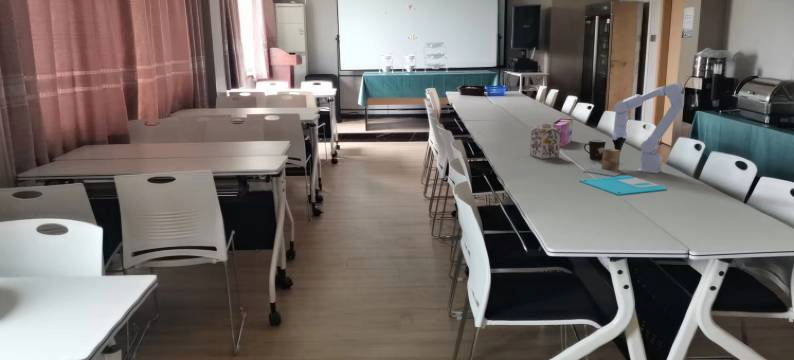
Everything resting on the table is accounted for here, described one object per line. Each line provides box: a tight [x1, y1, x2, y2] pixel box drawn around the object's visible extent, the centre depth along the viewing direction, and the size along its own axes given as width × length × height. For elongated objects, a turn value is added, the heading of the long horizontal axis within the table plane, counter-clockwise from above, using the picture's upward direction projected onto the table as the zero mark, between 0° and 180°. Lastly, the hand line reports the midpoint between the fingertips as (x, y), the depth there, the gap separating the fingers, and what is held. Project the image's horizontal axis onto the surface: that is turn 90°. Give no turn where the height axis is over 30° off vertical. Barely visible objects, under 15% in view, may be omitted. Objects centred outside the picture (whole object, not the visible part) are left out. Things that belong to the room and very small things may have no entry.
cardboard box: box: [601, 147, 621, 171], centre depth 304 cm, size 7×4×10 cm, turn 50°
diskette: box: [579, 175, 667, 196], centre depth 274 cm, size 26×28×1 cm
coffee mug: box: [583, 138, 607, 161], centre depth 329 cm, size 12×9×10 cm
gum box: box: [552, 118, 574, 147], centre depth 374 cm, size 24×8×14 cm, turn 154°
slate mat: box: [582, 167, 624, 177], centre depth 299 cm, size 16×10×1 cm, turn 50°
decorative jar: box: [529, 122, 561, 160], centre depth 334 cm, size 12×12×18 cm
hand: (617, 152), depth 310 cm, fingers closed
